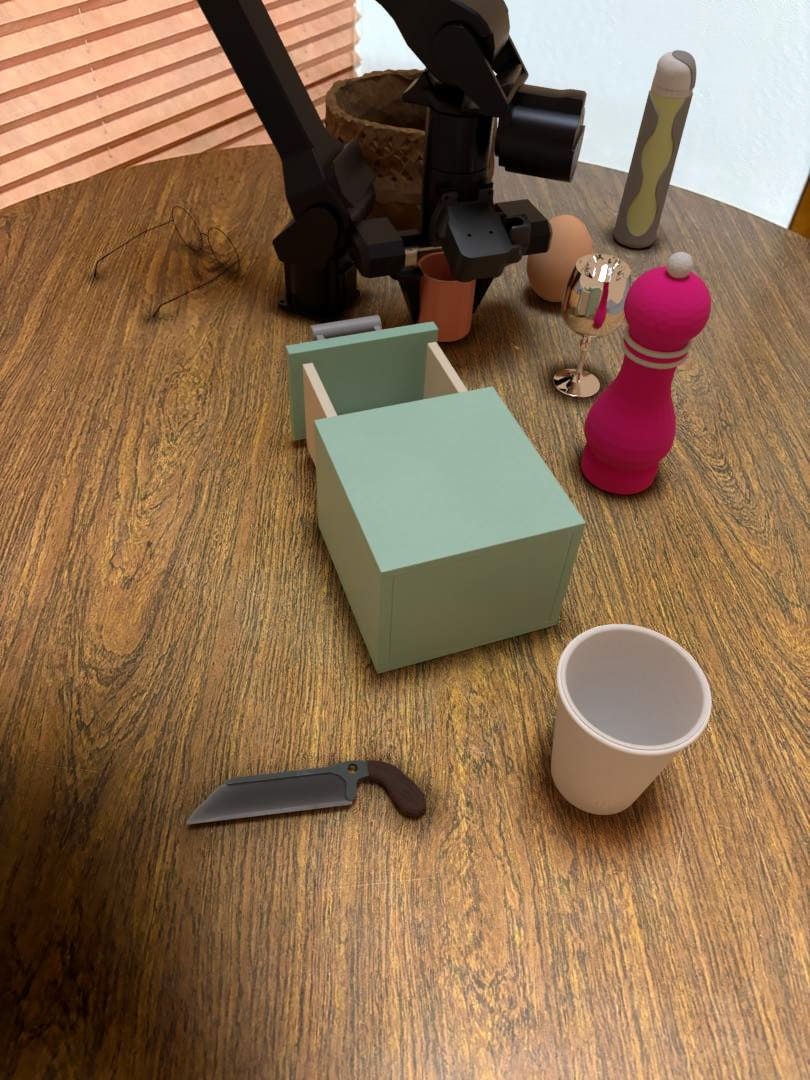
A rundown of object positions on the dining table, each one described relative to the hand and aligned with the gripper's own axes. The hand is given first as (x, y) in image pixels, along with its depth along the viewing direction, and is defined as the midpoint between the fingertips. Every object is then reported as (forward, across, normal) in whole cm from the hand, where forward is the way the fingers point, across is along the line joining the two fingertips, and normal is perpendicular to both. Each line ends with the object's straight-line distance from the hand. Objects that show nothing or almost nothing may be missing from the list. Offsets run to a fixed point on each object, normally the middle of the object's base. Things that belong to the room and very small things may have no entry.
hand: (442, 316), depth 86 cm
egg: (+2, +14, +2) cm, 14 cm away
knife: (+1, -26, -45) cm, 52 cm away
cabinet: (+1, -13, -30) cm, 33 cm away
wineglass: (+2, +9, -12) cm, 15 cm away
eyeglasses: (+2, -24, +17) cm, 30 cm away
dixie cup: (+2, -9, -49) cm, 49 cm away
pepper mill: (+2, +7, -24) cm, 25 cm away
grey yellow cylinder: (+2, +28, +11) cm, 31 cm away
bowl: (+2, +3, +20) cm, 20 cm away
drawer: (0, -13, -17) cm, 21 cm away
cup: (+1, 0, 0) cm, 1 cm away
